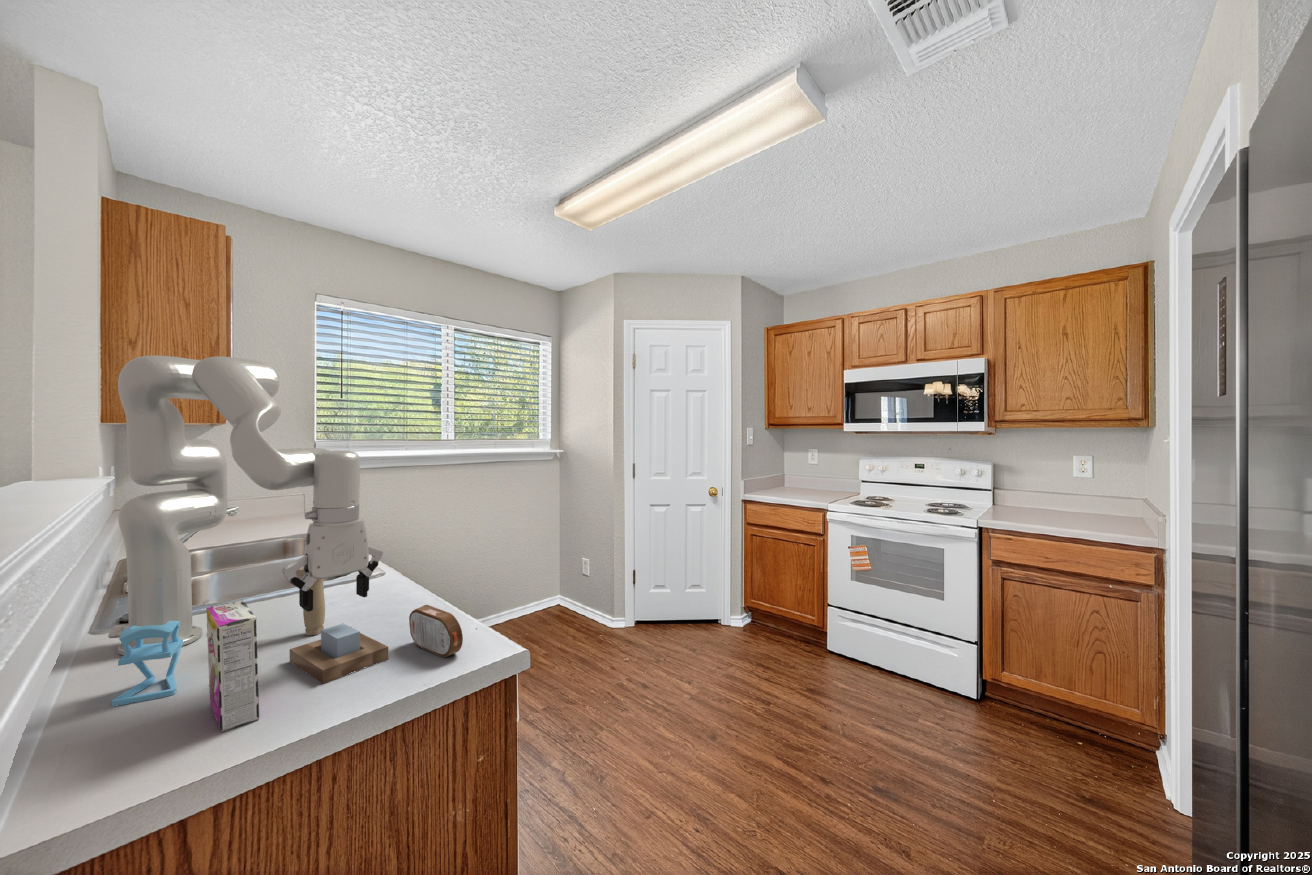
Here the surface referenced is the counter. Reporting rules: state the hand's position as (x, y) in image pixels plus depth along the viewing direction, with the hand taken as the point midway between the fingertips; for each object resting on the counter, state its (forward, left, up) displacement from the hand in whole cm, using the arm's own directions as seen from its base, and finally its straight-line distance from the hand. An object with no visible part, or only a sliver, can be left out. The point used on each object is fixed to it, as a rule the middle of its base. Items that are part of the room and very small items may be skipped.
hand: (335, 602), depth 98 cm
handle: (-10, +15, -12) cm, 21 cm away
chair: (-26, -6, -12) cm, 29 cm away
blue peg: (+1, 0, -12) cm, 12 cm away
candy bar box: (-8, -17, -12) cm, 22 cm away
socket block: (+1, 0, -11) cm, 11 cm away
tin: (+18, +1, -12) cm, 21 cm away
